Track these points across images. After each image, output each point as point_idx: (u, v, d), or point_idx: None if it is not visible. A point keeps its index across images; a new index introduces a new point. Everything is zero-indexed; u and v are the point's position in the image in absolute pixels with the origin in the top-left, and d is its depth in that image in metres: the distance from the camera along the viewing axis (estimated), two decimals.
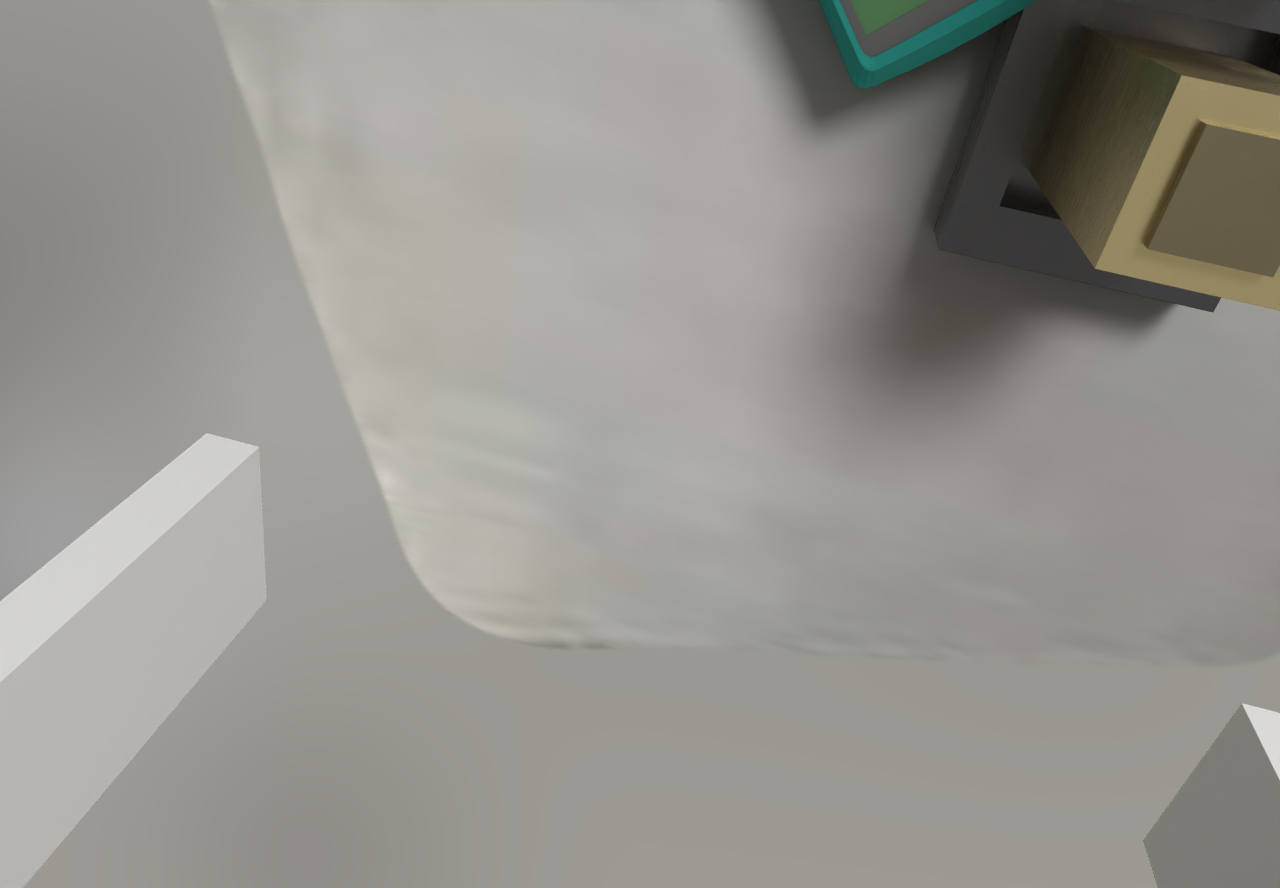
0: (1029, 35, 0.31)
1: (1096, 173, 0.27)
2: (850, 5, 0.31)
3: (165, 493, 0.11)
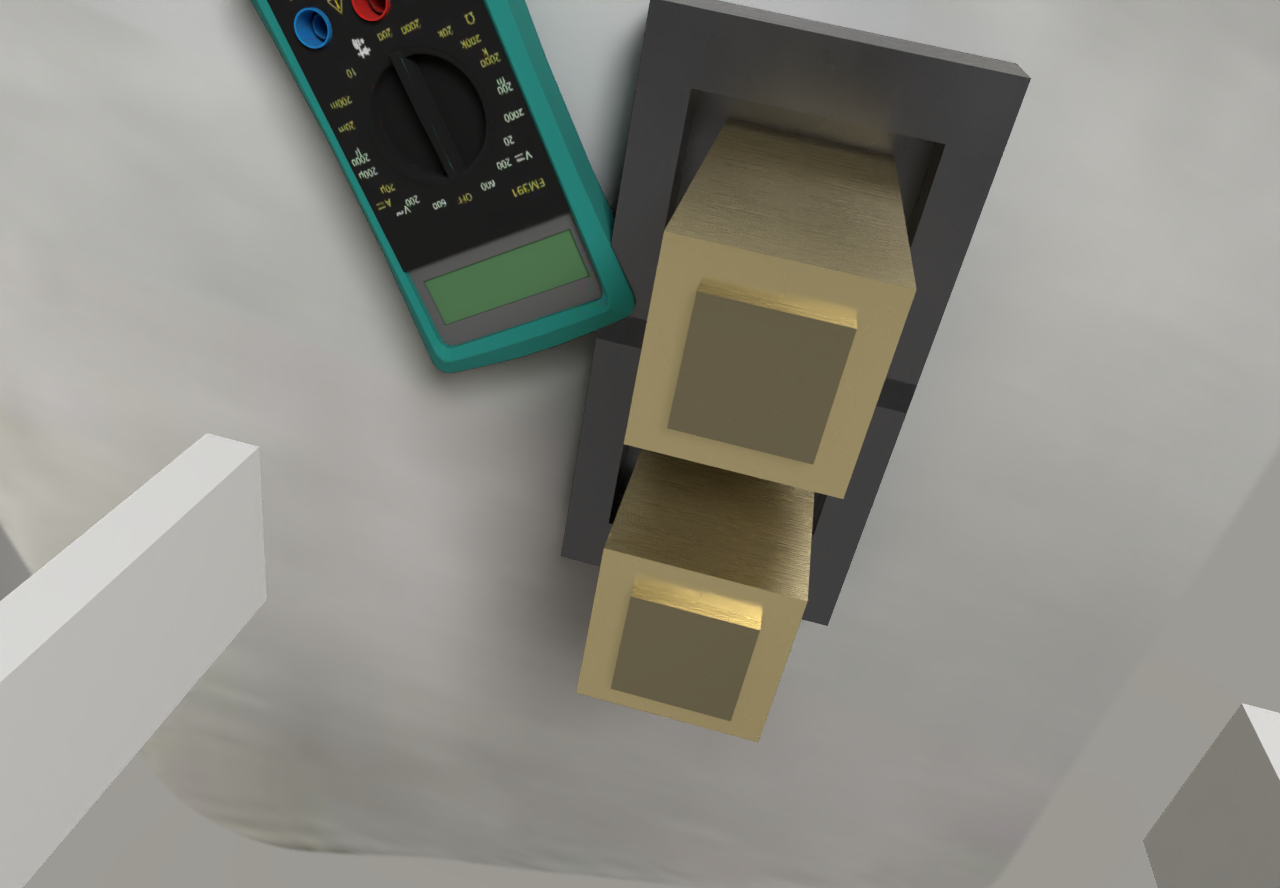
0: (603, 381, 0.31)
1: None
2: (427, 294, 0.30)
3: (164, 494, 0.11)
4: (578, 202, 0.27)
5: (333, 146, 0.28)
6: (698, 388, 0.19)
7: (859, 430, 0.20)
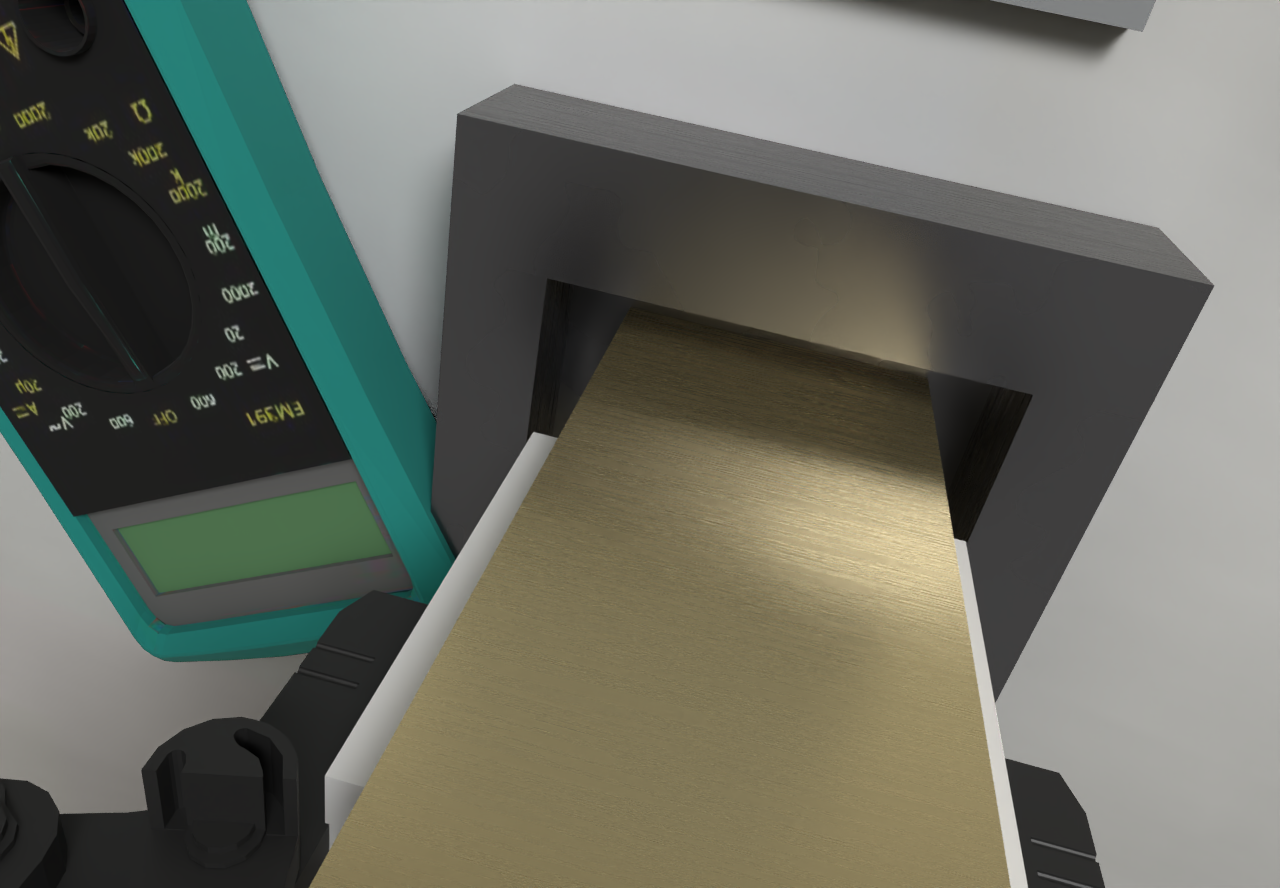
0: None
1: None
2: (121, 549, 0.17)
3: (526, 485, 0.13)
4: (366, 448, 0.15)
5: None
6: None
7: None
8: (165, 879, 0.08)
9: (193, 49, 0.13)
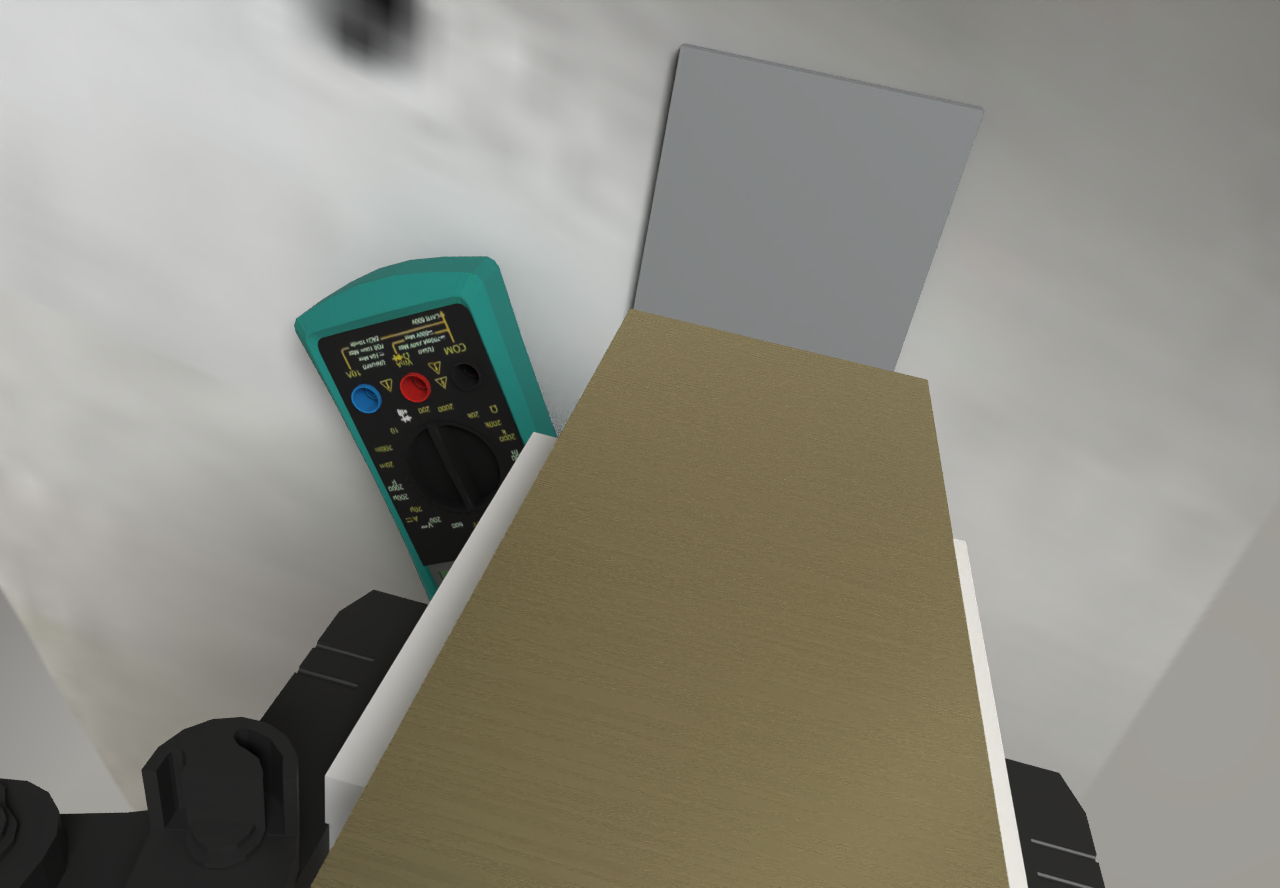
0: None
1: None
2: (441, 580, 0.37)
3: (526, 486, 0.13)
4: None
5: (374, 477, 0.34)
6: None
7: None
8: (165, 879, 0.08)
9: (517, 387, 0.32)
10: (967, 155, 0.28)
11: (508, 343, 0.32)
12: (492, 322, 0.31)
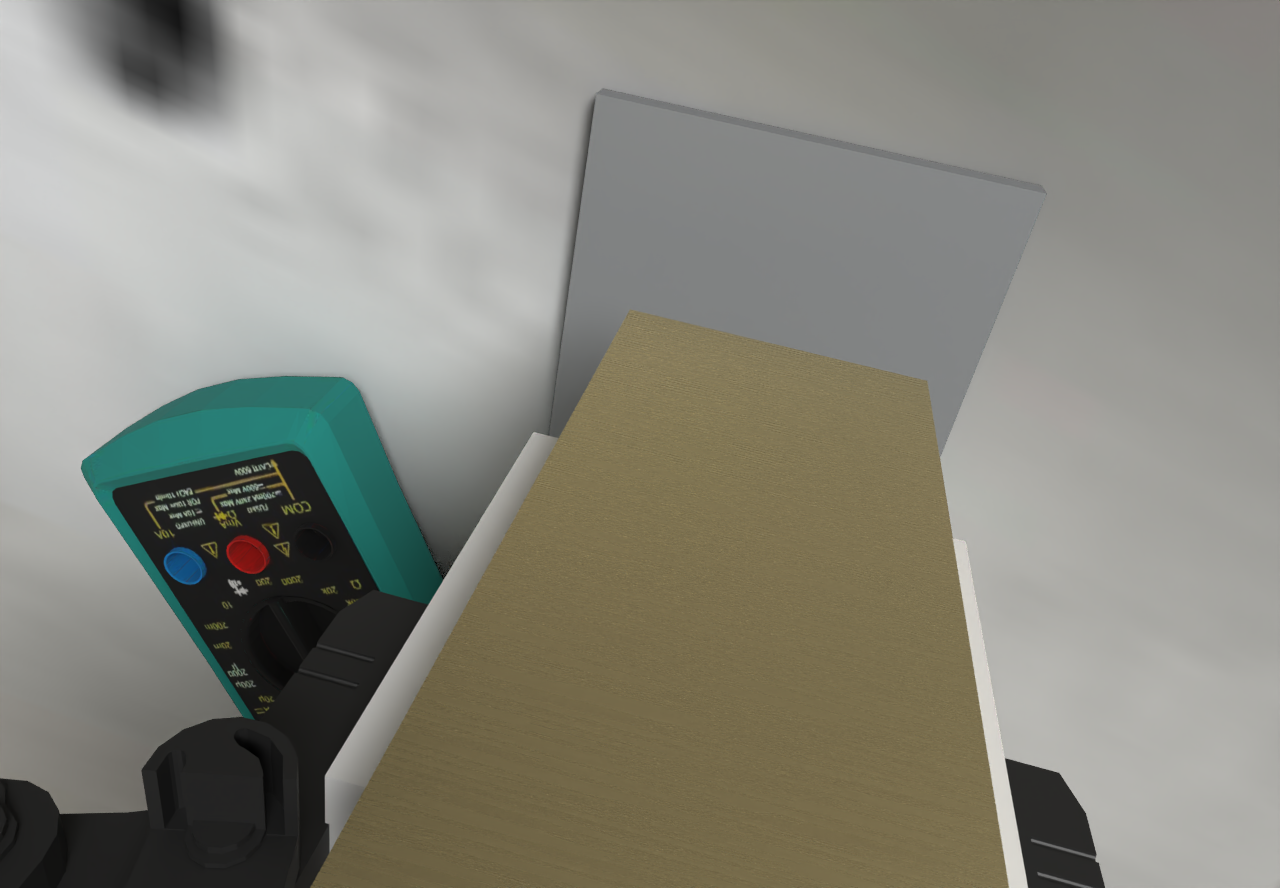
0: None
1: None
2: None
3: (527, 486, 0.13)
4: None
5: (207, 660, 0.26)
6: None
7: None
8: (165, 879, 0.08)
9: (386, 556, 0.23)
10: (1019, 255, 0.19)
11: (371, 499, 0.23)
12: (344, 475, 0.22)
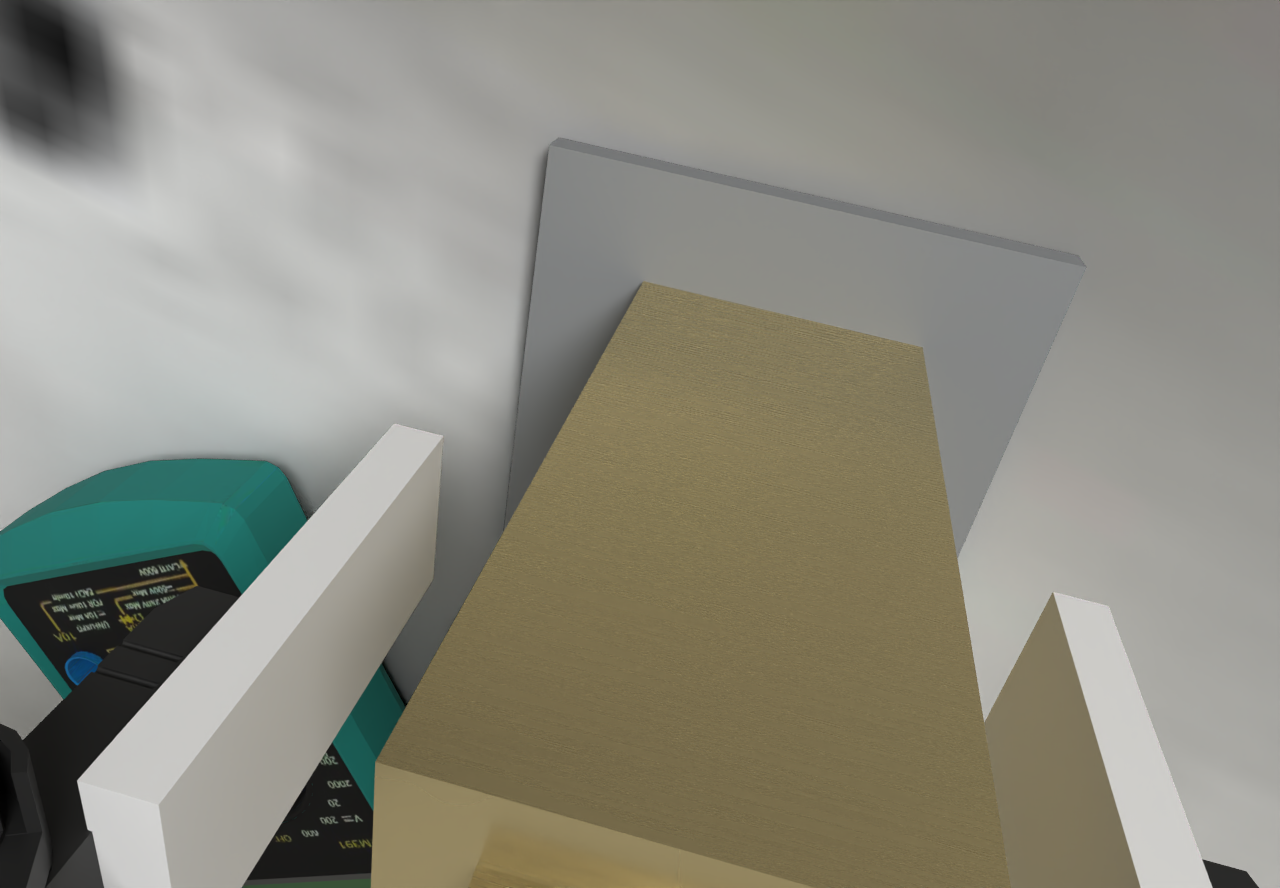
0: None
1: None
2: None
3: (374, 478, 0.12)
4: None
5: None
6: None
7: None
8: None
9: None
10: (1051, 337, 0.16)
11: None
12: None
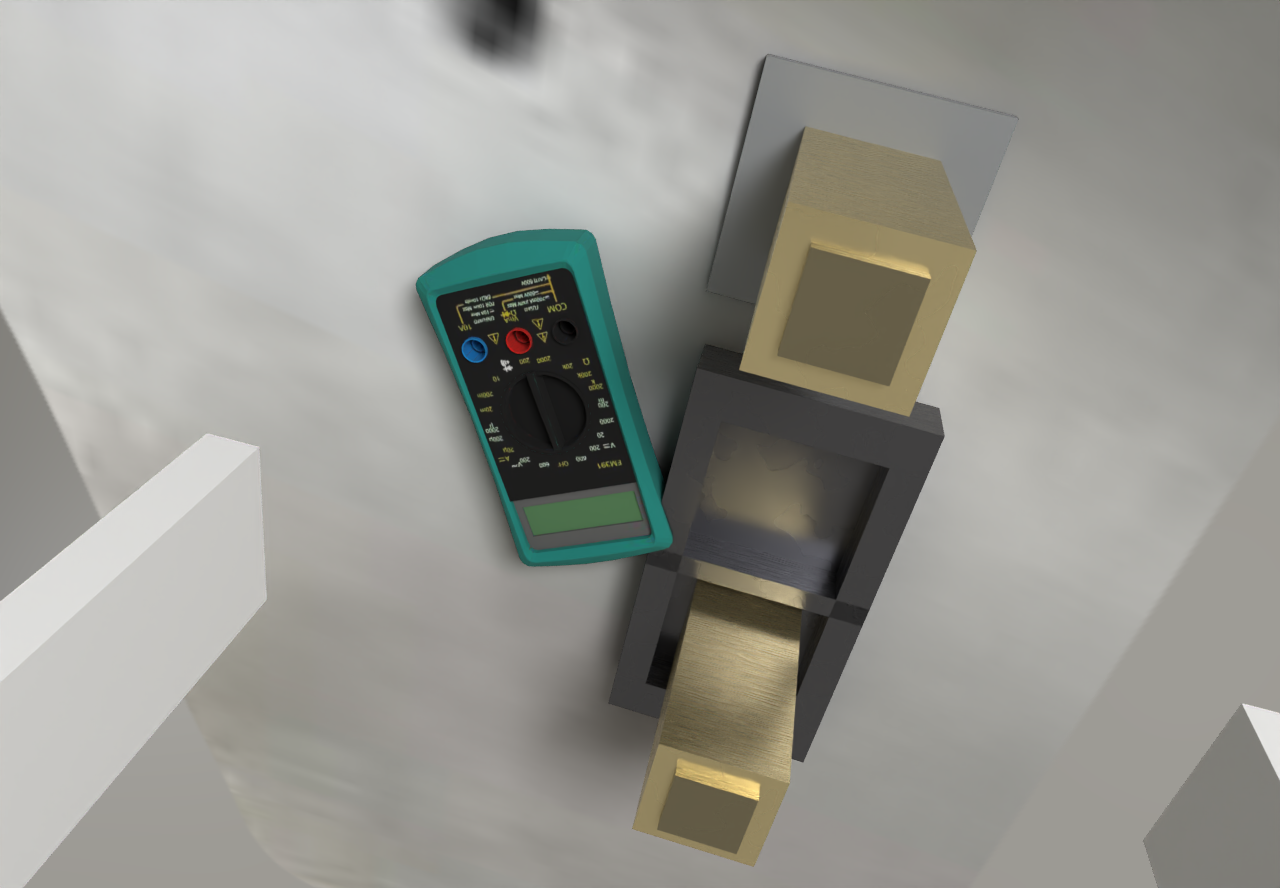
0: (648, 591, 0.43)
1: (656, 738, 0.39)
2: (524, 515, 0.42)
3: (164, 493, 0.11)
4: (643, 478, 0.40)
5: (474, 420, 0.40)
6: (804, 324, 0.26)
7: (925, 360, 0.26)
8: None
9: (608, 343, 0.37)
10: (1002, 155, 0.33)
11: (602, 305, 0.37)
12: (591, 286, 0.36)
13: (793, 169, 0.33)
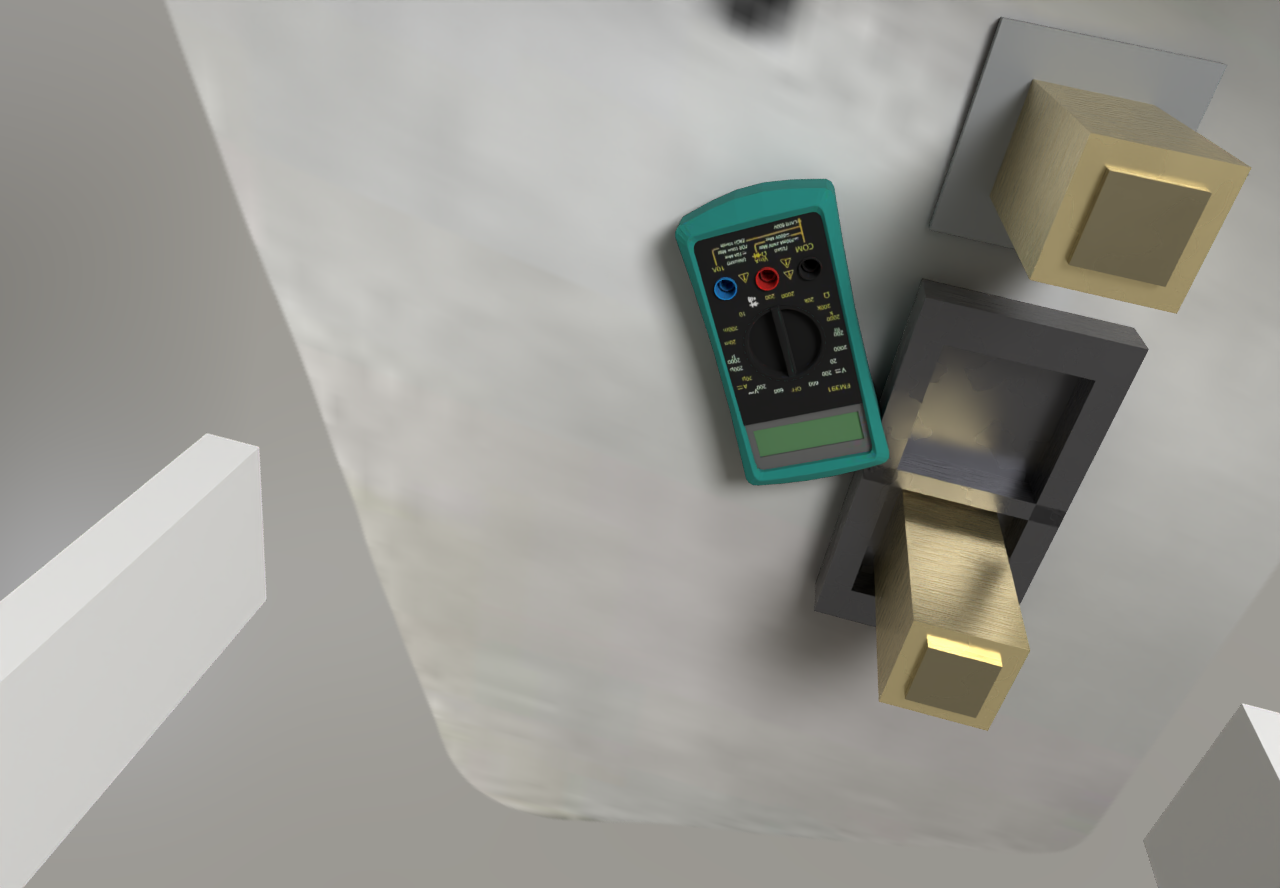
0: (861, 504, 0.48)
1: (888, 626, 0.45)
2: (754, 438, 0.47)
3: (166, 493, 0.11)
4: (869, 399, 0.45)
5: (719, 352, 0.45)
6: (1096, 236, 0.31)
7: (1196, 264, 0.31)
8: None
9: (846, 278, 0.43)
10: (1210, 97, 0.38)
11: (842, 244, 0.42)
12: (836, 227, 0.41)
13: (1029, 116, 0.38)
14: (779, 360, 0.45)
